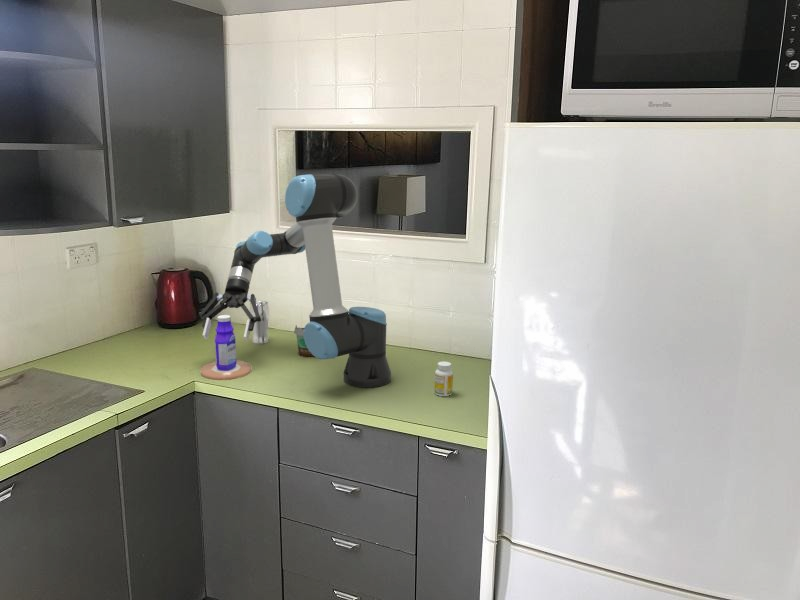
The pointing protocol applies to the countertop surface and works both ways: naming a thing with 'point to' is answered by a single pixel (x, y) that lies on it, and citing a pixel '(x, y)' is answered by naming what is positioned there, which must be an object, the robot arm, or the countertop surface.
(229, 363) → the bottle
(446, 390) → the supplement bottle
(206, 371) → the plate
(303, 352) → the food container
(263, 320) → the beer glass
